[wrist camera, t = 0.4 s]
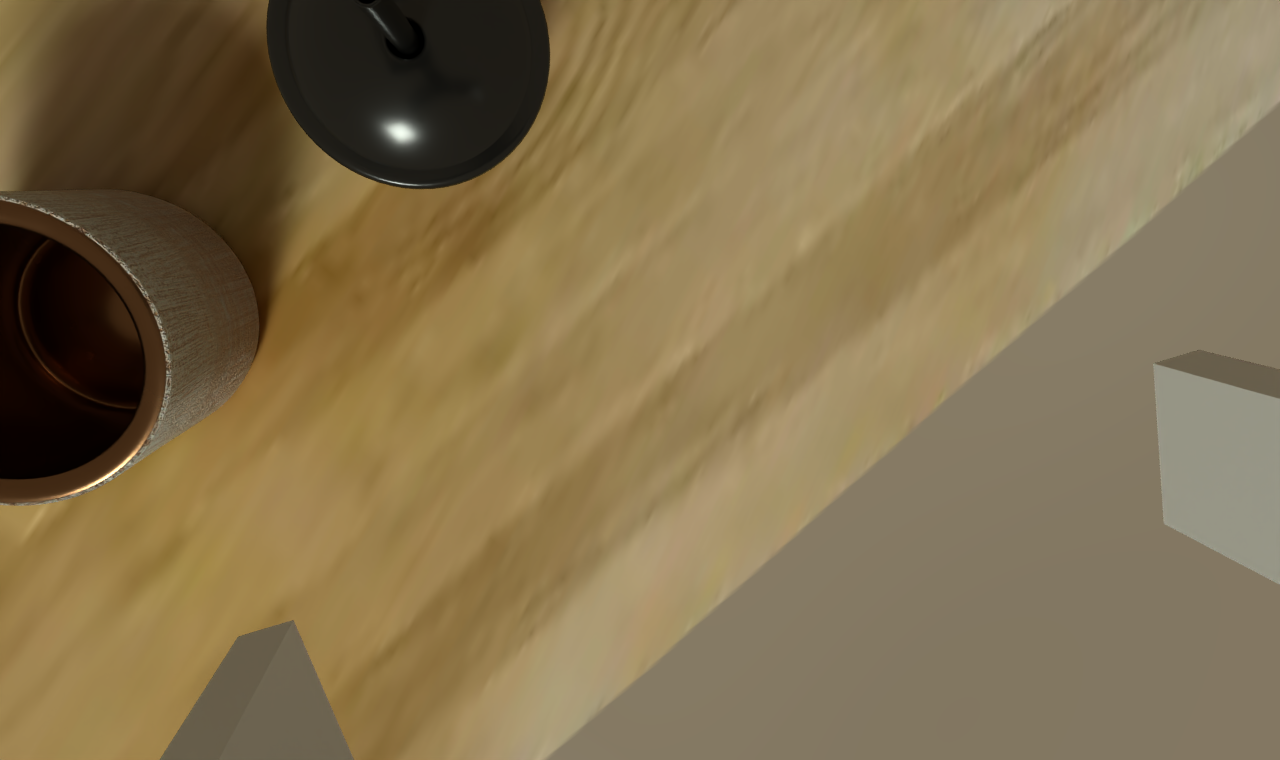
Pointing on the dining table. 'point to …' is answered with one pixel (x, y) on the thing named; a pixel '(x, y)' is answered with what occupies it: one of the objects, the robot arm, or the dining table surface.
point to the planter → (110, 335)
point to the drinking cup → (412, 82)
